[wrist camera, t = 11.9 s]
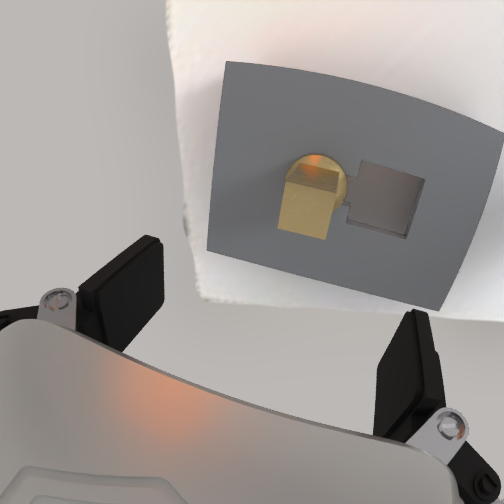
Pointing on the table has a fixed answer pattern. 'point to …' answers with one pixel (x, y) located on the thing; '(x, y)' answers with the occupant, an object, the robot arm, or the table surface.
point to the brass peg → (312, 195)
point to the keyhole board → (349, 157)
